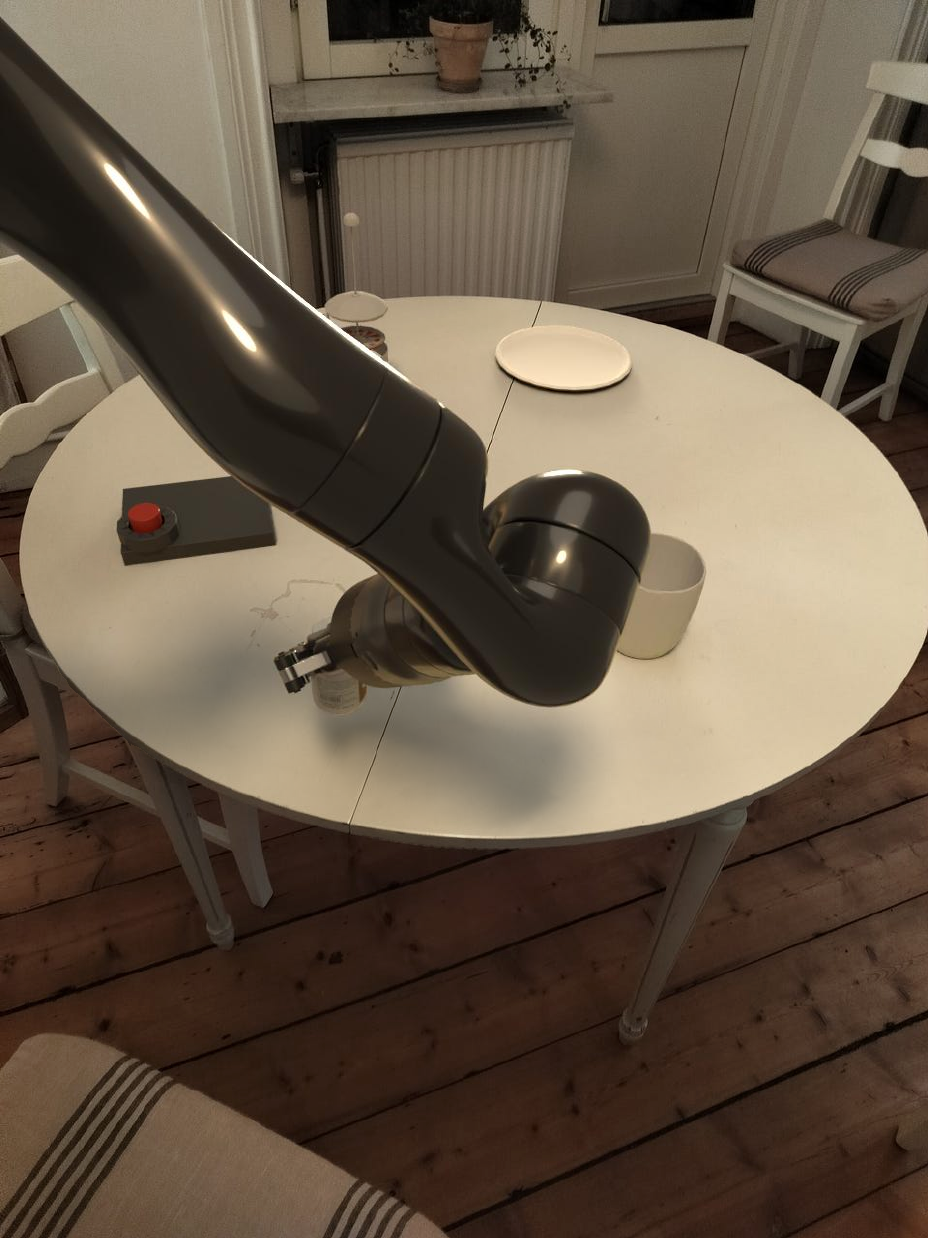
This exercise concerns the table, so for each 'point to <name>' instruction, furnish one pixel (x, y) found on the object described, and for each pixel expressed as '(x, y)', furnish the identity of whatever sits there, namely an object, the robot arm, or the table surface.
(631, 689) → the table surface
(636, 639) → the mug
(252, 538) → the black button box
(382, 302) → the french press
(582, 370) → the plate
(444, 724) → the table surface
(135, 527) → the button
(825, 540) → the table surface
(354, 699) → the pill bottle
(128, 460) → the table surface
